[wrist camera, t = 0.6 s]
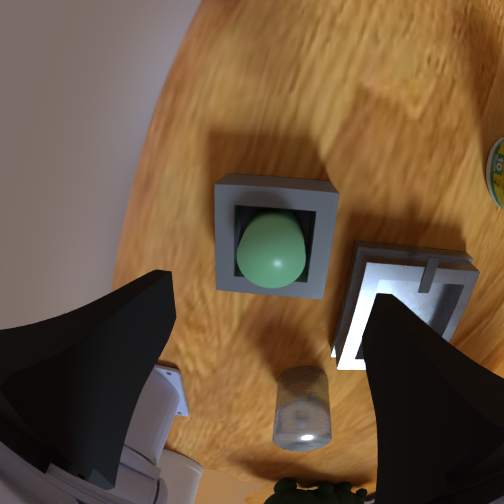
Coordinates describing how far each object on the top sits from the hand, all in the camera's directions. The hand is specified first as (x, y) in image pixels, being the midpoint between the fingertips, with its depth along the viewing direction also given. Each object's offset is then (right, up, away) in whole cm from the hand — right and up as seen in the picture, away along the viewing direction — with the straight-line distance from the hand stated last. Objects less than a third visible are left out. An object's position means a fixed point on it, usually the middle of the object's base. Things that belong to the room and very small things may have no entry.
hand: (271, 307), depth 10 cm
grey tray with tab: (+10, -2, +9) cm, 13 cm away
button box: (+1, +4, +8) cm, 8 cm away
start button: (+1, +3, +6) cm, 7 cm away
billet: (+4, -9, +13) cm, 17 cm away
